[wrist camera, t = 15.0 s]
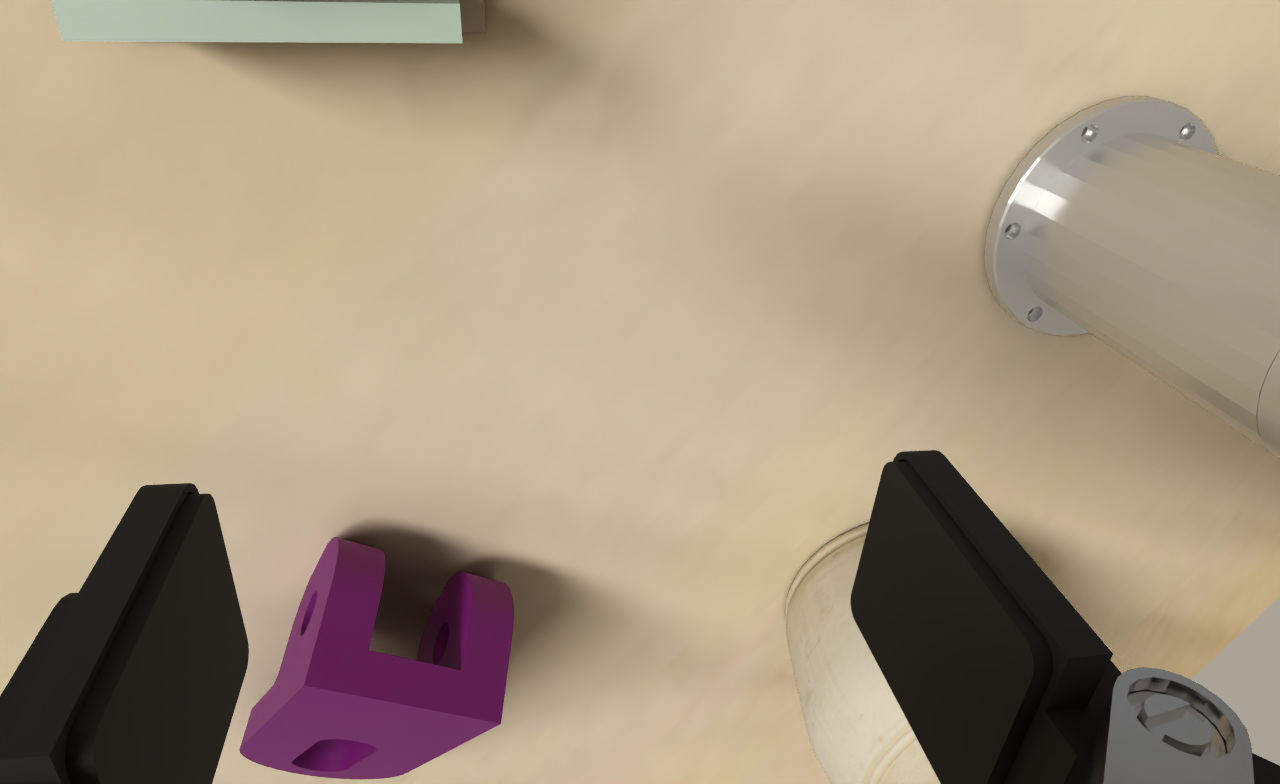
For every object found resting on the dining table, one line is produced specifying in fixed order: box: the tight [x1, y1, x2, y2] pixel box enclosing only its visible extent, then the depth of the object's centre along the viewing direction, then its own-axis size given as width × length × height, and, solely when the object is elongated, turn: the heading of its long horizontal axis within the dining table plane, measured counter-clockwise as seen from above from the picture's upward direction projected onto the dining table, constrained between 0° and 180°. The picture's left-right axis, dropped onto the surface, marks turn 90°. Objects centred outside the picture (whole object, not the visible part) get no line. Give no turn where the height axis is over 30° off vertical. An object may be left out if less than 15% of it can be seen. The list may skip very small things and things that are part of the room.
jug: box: [785, 523, 941, 784], centre depth 44 cm, size 15×16×25 cm
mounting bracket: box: [240, 537, 514, 779], centre depth 47 cm, size 9×8×18 cm
